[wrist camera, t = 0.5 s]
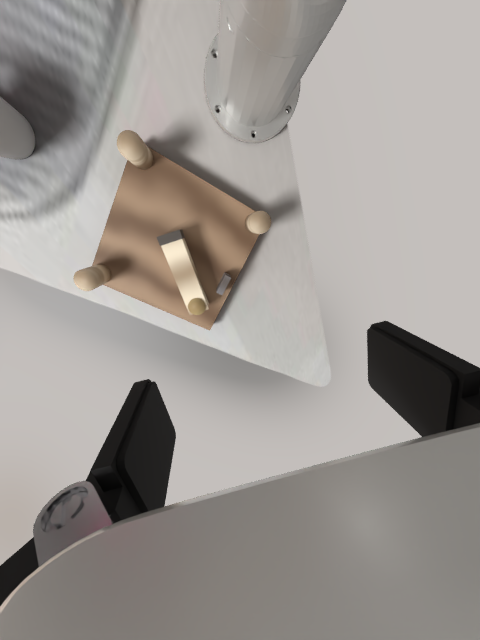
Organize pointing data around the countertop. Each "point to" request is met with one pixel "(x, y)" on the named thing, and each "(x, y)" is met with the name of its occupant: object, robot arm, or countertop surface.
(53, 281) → the countertop surface
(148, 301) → the stool seat
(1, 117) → the cup
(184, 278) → the folding leg
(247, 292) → the countertop surface
